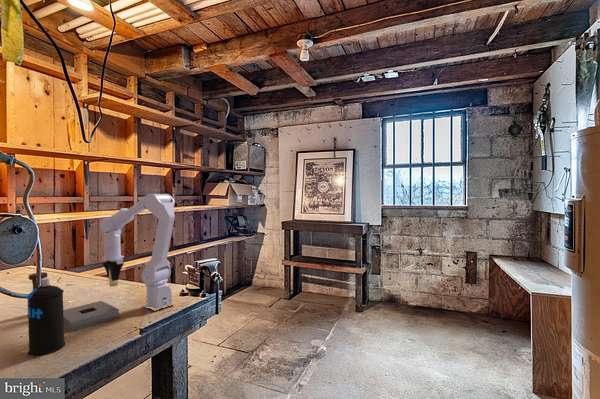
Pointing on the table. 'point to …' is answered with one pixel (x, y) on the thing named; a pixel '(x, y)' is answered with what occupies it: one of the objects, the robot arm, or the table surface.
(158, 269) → the robot arm
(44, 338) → the aerosol can
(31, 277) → the bolt
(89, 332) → the table surface
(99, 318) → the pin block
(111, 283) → the brass pin
